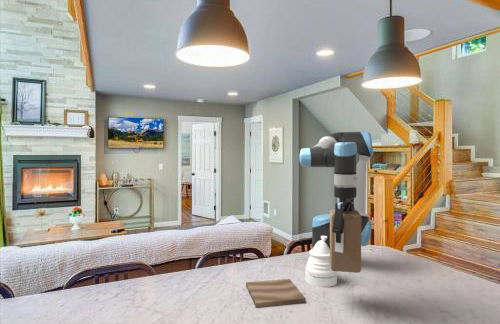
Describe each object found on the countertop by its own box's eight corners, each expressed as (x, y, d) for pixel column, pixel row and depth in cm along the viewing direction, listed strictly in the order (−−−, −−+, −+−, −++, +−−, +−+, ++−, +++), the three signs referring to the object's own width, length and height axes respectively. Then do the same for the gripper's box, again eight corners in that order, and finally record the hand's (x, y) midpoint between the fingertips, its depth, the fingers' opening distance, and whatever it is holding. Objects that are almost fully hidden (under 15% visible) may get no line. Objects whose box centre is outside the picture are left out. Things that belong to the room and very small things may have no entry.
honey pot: (316, 272, 143) (316, 232, 142) (343, 280, 134) (343, 237, 133) (299, 280, 134) (299, 237, 133) (326, 289, 125) (326, 243, 124)
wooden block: (361, 274, 108) (361, 215, 108) (330, 271, 110) (331, 214, 110) (357, 263, 118) (358, 209, 117) (329, 261, 120) (329, 208, 119)
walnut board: (246, 286, 128) (246, 282, 128) (289, 282, 131) (289, 278, 131) (255, 307, 110) (255, 303, 110) (305, 302, 114) (305, 298, 114)
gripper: (345, 190, 101) (344, 258, 102) (364, 183, 121) (364, 240, 122) (322, 189, 105) (322, 254, 106) (345, 182, 125) (344, 237, 126)
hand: (344, 247), depth 114 cm, fingers closed on wooden block, 12 cm apart
